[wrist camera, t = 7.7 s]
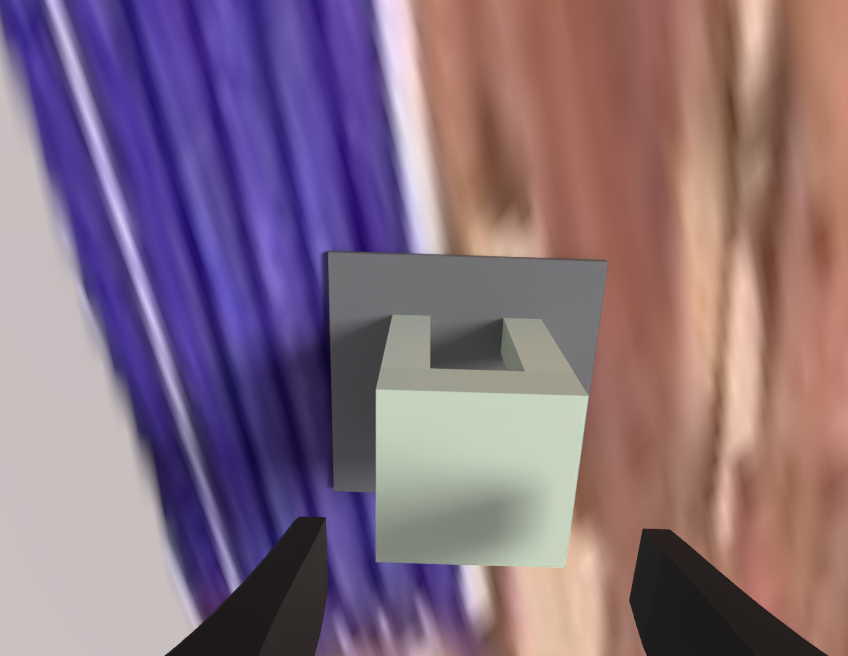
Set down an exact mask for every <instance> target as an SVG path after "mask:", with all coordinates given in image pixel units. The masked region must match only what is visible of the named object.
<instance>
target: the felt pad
mask: <svg viewBox="0 0 848 656" xmlns="http://www.w3.org/2000/svg"><path fill="white" fill-rule="evenodd" d="M607 267H608V261H606V260H588V259H558V258H529V257H499V256H470V255H440V254H411V253H381V252H352V251H329V252H328V271H329V312H330V354H331V395H332V437H333V478H334V491H347V492H376V387H377V382H378V378H379V373H380V369H381V364H382V360H383V355H384V351H385V346H386V342H387V337H388V333H389V328H390V324H391V319H392V315H423V316H430V368H431V369H464V370H496V371H506V368H505V365H504V362H503V359H502V356H501V343H502V330H503V318H522V319H542V321H543V323H544V324H545V326H546V328H547V329H548V331H549V332H550V334H551V336H552V337H553V339H554V341H555V342H556V344H557V345H558V347H559V349H560V350H561V352H562V354H563V355H564V357H565V358H566V360H567V362H568V363H569V365H570V367H571V368H572V370H573V371H574V373H575V375H576V376H577V378H578V380H579V381H580V383H581V384H582V386H583V388H584V389H585V391H586V393H587V394H588V396H589V395H590V388H591V381H592V374H593V366H594V359H595V352H596V345H597V338H598V331H599V324H600V317H601V310H602V303H603V295H604V288H605V281H606V274H607ZM588 402H589V397H588ZM587 409H588V404H587ZM586 416H587V412H586ZM585 423H586V419H585ZM584 430H585V426H584ZM583 438H584V434H583ZM582 445H583V441H582ZM581 452H582V448H581ZM580 459H581V456H580ZM579 466H580V463H579ZM578 473H579V470H578ZM577 480H578V478H577ZM576 487H577V485H576ZM575 494H576V492H575Z"/></svg>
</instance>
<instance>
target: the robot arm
mask: <svg viewBox="0 0 848 656" xmlns="http://www.w3.org/2000/svg"><path fill="white" fill-rule="evenodd" d="M327 592H328V575H327V540H326V518H325V517H298V518H297V519H296V520H295V521H294V522H293V523H292V524H291V526H290V527H289V528H288V530H287V531H286V532H285V534H284V535H283V536H282V537H281V539H280V540H279V541H278V542H277V544H276V545H275V546H274V547H273V548H272V550H271V551H270V552H269V553H268V554H267V556H266V557H265V558H264V559H263V560H262V561H261V563H260V564H259V565H258V566H257V567H256V568H255V569H254V570H253V572H252V573H251V574H250V575H249V576H248V577H247V578H246V580H245V581H244V582H243V583H242V584H241V585H240V586H239V587H238V588H237V589H236V590H235V591H234V592H233V593H232V594H231V595H230V596H229V597H228V598H227V599H226V600H225V601H224V602H223V603H222V604H221V605H220V606H219V607H218V609H217V610H216V611H215V612H214V613H212V614H211V615H210V616H209V617H208V618H207V619H206V620H205V621H204V622H203V623H202V624H201V625H200V626H199V627H198V628H196V629H195V630H194V631H193V632H192V633H191V634H190V635H189V636H187V637H186V638H185V639H184V640H183V641H182V642H181V643H179V644H178V645H177V646H176V647H175V648H173V649H172V650H171V651H170V652H169V653H167V654H166V655H165V656H314V655H315V651H316V648H317V644H318V641H319V637H320V633H321V627H322V622H323V616H324V610H325V604H326V598H327ZM629 601H630V605H631V608H632V612H633V615H634V619H635V622H636V626H637V629H638V632H639V635H640V638H641V642H642V645H643V648H644V650H645V652H646V655H647V656H828V655H827V654H825V653H824V652H822V651H821V650H819V649H818V648H816V647H815V646H813V645H812V644H811V643H809V642H808V641H806V640H805V639H804V638H802V637H801V636H800V635H798V634H797V633H796V632H794V631H793V630H792V629H790V628H789V627H788V626H786V625H785V624H784V623H782V622H781V621H780V620H778V619H777V618H776V617H775V616H773V615H772V614H771V613H769V612H768V611H767V610H766V609H764V608H763V607H762V606H761V605H759V604H758V603H757V602H756V601H754V600H753V599H752V598H751V597H749V596H748V595H747V594H746V593H744V592H743V591H742V590H741V589H740V588H738V587H737V586H736V585H735V584H734V583H732V582H731V581H730V580H729V579H728V578H727V577H725V576H724V575H723V574H722V573H721V572H720V571H718V570H717V569H716V568H715V567H714V566H713V565H711V564H710V563H709V562H708V561H707V560H706V559H704V558H703V557H702V556H701V555H700V554H699V553H697V552H696V551H695V550H694V549H693V548H692V547H690V546H689V545H688V544H687V543H686V542H685V541H683V540H682V539H681V538H680V537H679V536H677V535H676V534H675V533H673V532H672V531H671V530H668V529H643V530H642V535H641V541H640V546H639V551H638V557H637V562H636V567H635V573H634V578H633V583H632V589H631V594H630V599H629Z"/></svg>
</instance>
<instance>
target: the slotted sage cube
mask: <svg viewBox="0 0 848 656" xmlns="http://www.w3.org/2000/svg"><path fill="white" fill-rule="evenodd" d="M501 356H502V359H503V362H504V365H505V368H506V371H496V370H464V369H431V368H430V316H423V315H392V319H391V324H390V328H389V333H388V337H387V342H386V346H385V351H384V355H383V360H382V364H381V369H380V373H379V378H378V382H377V387H376V562H396V563H427V564H459V565H490V566H522V567H553V568H565V566H566V559H567V551H568V544H569V537H570V529H571V522H572V515H573V507H574V500H575V492H576V485H577V478H578V470H579V463H580V456H581V448H582V441H583V434H584V426H585V419H586V412H587V404H588V397H589V396H588V394H587V393H586V391H585V389H584V388H583V386H582V384H581V383H580V381H579V380H578V378H577V376H576V375H575V373H574V371H573V370H572V368H571V367H570V365H569V363H568V362H567V360H566V358H565V357H564V355H563V354H562V352H561V350H560V349H559V347H558V345H557V344H556V342H555V341H554V339H553V337H552V336H551V334H550V332H549V331H548V329H547V328H546V326H545V324H544V323H543V321H542V319H522V318H503V330H502V343H501Z"/></svg>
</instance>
